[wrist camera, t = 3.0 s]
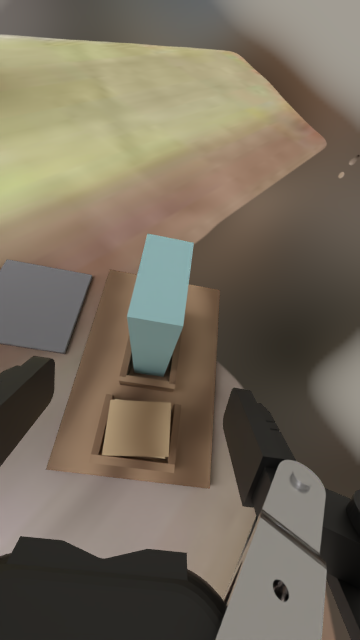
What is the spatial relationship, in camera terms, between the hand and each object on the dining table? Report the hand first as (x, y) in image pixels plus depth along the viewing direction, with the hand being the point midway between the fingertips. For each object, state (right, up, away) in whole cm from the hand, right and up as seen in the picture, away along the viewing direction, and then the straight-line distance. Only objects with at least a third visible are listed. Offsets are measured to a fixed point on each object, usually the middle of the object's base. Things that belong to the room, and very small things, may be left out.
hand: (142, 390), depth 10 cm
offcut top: (-2, -6, +9) cm, 11 cm away
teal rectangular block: (-1, 0, +15) cm, 15 cm away
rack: (-1, -2, +15) cm, 15 cm away
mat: (-15, +5, +16) cm, 22 cm away
